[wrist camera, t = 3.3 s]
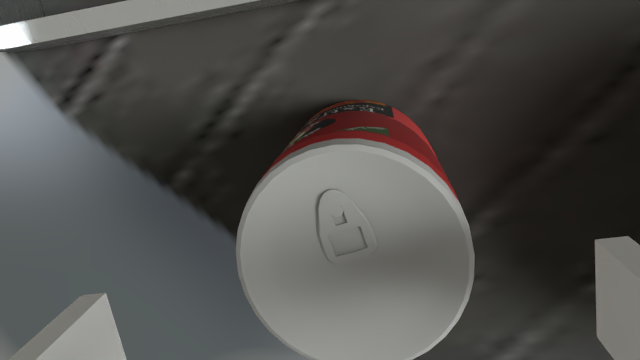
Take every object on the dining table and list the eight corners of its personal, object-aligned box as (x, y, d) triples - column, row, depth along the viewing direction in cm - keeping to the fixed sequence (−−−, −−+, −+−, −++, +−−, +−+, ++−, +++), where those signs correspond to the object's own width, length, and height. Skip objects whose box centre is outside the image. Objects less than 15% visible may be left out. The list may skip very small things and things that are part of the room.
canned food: (380, 66, 24) (385, 91, 14) (464, 194, 26) (527, 305, 15) (260, 150, 26) (182, 228, 16) (344, 265, 27) (325, 407, 17)
